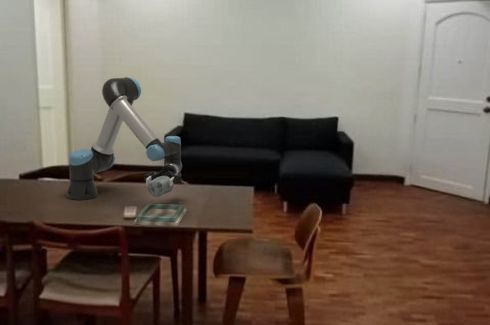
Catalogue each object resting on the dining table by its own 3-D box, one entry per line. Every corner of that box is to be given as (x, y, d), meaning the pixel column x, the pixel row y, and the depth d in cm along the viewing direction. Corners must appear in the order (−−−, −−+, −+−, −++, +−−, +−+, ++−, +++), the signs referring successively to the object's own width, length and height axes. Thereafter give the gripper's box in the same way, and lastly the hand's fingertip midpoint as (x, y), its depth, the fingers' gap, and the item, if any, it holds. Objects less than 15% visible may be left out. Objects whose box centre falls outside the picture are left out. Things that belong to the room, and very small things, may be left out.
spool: (162, 192, 236) (157, 171, 238) (146, 200, 240) (140, 178, 242) (180, 193, 248) (175, 173, 250) (164, 200, 252) (159, 180, 254)
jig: (134, 224, 238) (133, 216, 237) (146, 210, 260) (146, 203, 259) (177, 226, 237) (177, 218, 236) (186, 211, 258) (186, 204, 258)
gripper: (192, 180, 262) (183, 192, 240) (146, 178, 264) (133, 190, 242) (192, 165, 261) (183, 175, 239) (146, 163, 262) (133, 173, 240)
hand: (158, 182), depth 240 cm, fingers closed on spool, 10 cm apart
